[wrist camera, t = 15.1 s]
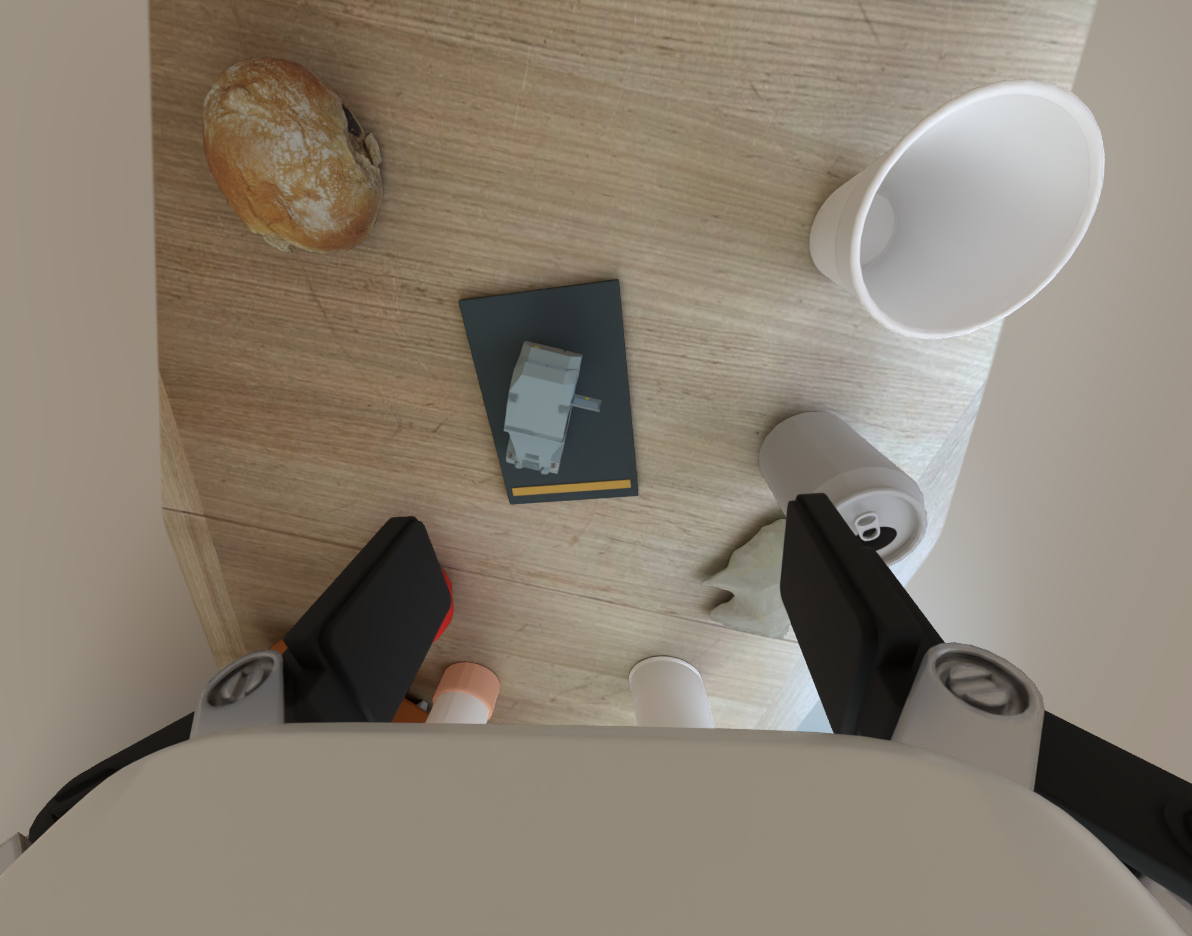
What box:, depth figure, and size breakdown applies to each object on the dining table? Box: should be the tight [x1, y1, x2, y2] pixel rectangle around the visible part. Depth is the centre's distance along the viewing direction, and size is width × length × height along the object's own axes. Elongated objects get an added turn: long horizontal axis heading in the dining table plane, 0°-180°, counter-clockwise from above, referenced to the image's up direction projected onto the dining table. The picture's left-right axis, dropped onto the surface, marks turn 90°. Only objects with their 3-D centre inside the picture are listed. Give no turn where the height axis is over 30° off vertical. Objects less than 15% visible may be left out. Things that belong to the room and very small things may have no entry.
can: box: [758, 412, 927, 567], centre depth 31 cm, size 8×8×12 cm
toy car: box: [504, 341, 602, 475], centre depth 33 cm, size 6×10×5 cm, turn 167°
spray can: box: [629, 656, 714, 728], centre depth 40 cm, size 12×11×25 cm
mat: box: [459, 279, 638, 504], centre depth 35 cm, size 12×18×1 cm, turn 7°
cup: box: [810, 79, 1105, 339], centre depth 24 cm, size 10×10×11 cm
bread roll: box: [202, 58, 383, 254], centre depth 27 cm, size 10×10×8 cm
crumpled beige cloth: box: [701, 519, 790, 639], centre depth 41 cm, size 12×3×15 cm
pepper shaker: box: [425, 662, 500, 724], centre depth 45 cm, size 7×7×19 cm
